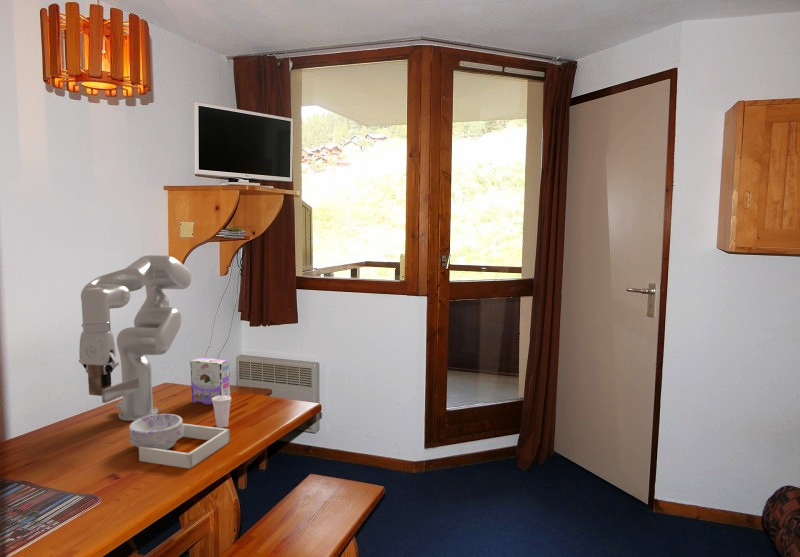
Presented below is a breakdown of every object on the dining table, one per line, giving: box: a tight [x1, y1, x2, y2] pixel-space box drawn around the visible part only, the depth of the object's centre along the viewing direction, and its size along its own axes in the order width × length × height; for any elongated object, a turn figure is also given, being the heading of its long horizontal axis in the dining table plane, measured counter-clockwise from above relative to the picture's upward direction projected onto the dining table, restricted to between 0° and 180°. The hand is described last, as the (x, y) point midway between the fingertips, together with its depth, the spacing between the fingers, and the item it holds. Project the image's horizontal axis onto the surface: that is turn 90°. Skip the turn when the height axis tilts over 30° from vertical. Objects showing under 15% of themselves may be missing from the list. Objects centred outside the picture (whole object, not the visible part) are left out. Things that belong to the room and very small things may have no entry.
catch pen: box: [138, 423, 231, 470], centre depth 170 cm, size 17×20×4 cm
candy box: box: [189, 357, 231, 406], centre depth 214 cm, size 14×6×16 cm, turn 71°
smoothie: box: [212, 385, 232, 429], centre depth 190 cm, size 6×6×14 cm
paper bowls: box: [128, 413, 184, 450], centre depth 173 cm, size 15×15×8 cm
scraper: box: [87, 365, 139, 404], centre depth 176 cm, size 11×14×10 cm
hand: (100, 384), depth 177 cm, fingers closed on scraper, 4 cm apart
